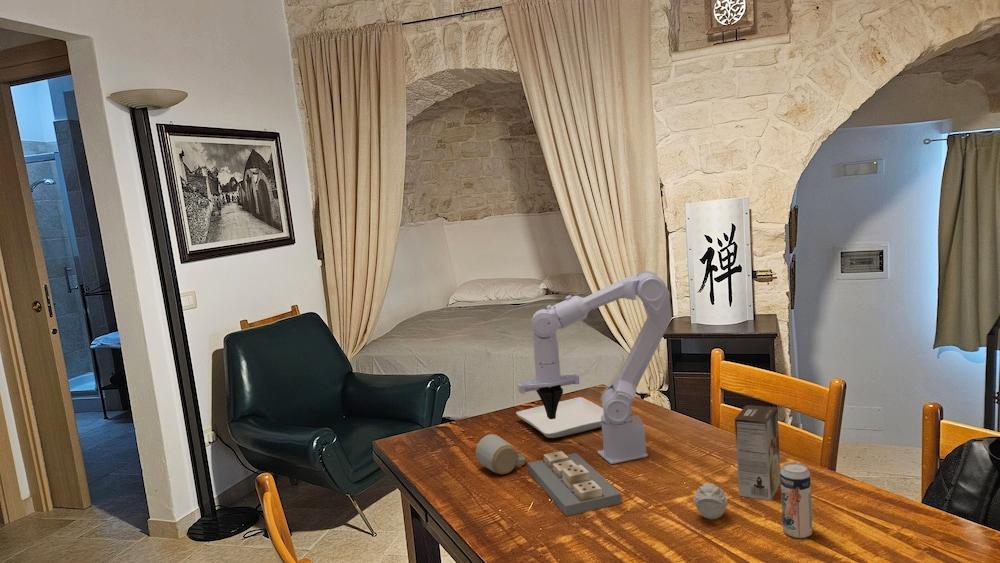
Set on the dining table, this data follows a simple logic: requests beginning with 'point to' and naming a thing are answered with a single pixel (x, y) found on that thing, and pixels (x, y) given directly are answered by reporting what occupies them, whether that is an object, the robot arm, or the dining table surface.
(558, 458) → the key
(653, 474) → the dining table surface
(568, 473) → the beige small block
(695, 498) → the frog figurine
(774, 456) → the coffee box
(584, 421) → the salad plate
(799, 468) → the beer can
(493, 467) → the ceramic mug
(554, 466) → the cream dice block
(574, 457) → the grey slotted tray
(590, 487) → the beige square block
